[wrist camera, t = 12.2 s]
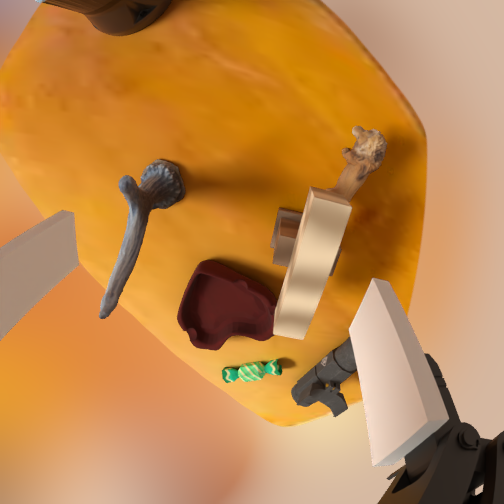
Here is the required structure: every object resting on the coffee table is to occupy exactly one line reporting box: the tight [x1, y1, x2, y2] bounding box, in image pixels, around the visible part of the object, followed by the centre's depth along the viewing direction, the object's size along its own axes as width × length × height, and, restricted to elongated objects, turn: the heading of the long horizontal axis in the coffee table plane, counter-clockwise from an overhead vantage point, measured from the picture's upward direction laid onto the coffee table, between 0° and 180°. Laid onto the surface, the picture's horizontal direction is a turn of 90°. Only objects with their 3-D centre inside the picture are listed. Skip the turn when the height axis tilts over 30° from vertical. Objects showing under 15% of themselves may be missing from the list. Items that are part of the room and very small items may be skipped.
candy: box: [222, 359, 282, 383], centre depth 55 cm, size 12×3×4 cm
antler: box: [99, 159, 185, 319], centre depth 31 cm, size 12×8×25 cm
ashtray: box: [177, 260, 277, 350], centre depth 47 cm, size 18×16×5 cm
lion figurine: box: [326, 126, 387, 202], centre depth 34 cm, size 15×5×9 cm, turn 160°
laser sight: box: [291, 337, 357, 417], centre depth 49 cm, size 10×22×10 cm, turn 150°
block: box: [273, 186, 352, 340], centre depth 33 cm, size 18×4×5 cm, turn 169°
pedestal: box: [270, 208, 342, 276], centre depth 39 cm, size 6×9×8 cm, turn 80°
